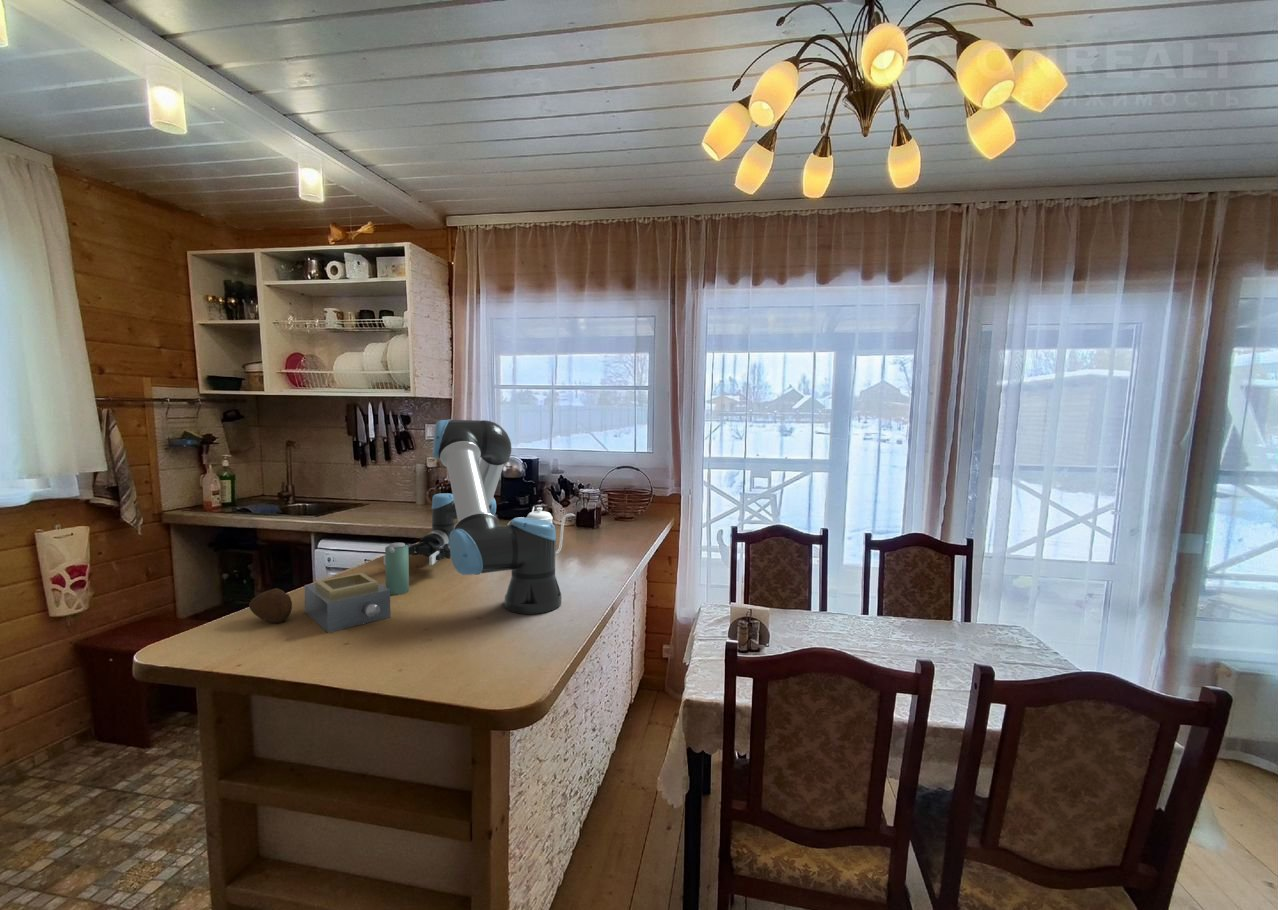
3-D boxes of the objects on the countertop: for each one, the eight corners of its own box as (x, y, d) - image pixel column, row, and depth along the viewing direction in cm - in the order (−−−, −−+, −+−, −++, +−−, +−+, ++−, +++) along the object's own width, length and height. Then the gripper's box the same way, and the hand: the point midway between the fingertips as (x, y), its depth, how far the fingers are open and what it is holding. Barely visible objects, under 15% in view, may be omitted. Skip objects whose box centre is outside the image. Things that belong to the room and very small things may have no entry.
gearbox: (395, 620, 128) (394, 586, 128) (332, 636, 118) (331, 600, 117) (363, 599, 142) (363, 568, 142) (305, 612, 132) (304, 579, 132)
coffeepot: (571, 565, 179) (572, 511, 178) (501, 562, 181) (501, 508, 180) (578, 557, 190) (578, 506, 188) (511, 554, 192) (511, 503, 191)
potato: (277, 628, 122) (276, 595, 121) (242, 624, 124) (241, 592, 123) (303, 617, 129) (302, 585, 129) (269, 613, 131) (268, 582, 130)
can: (391, 588, 152) (390, 541, 151) (412, 588, 152) (411, 541, 151) (379, 596, 145) (379, 547, 144) (401, 596, 145) (401, 548, 144)
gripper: (470, 554, 178) (449, 573, 157) (396, 554, 177) (365, 572, 156) (470, 533, 178) (449, 548, 157) (396, 532, 177) (365, 547, 156)
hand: (407, 560), depth 156 cm, fingers open, 13 cm apart
